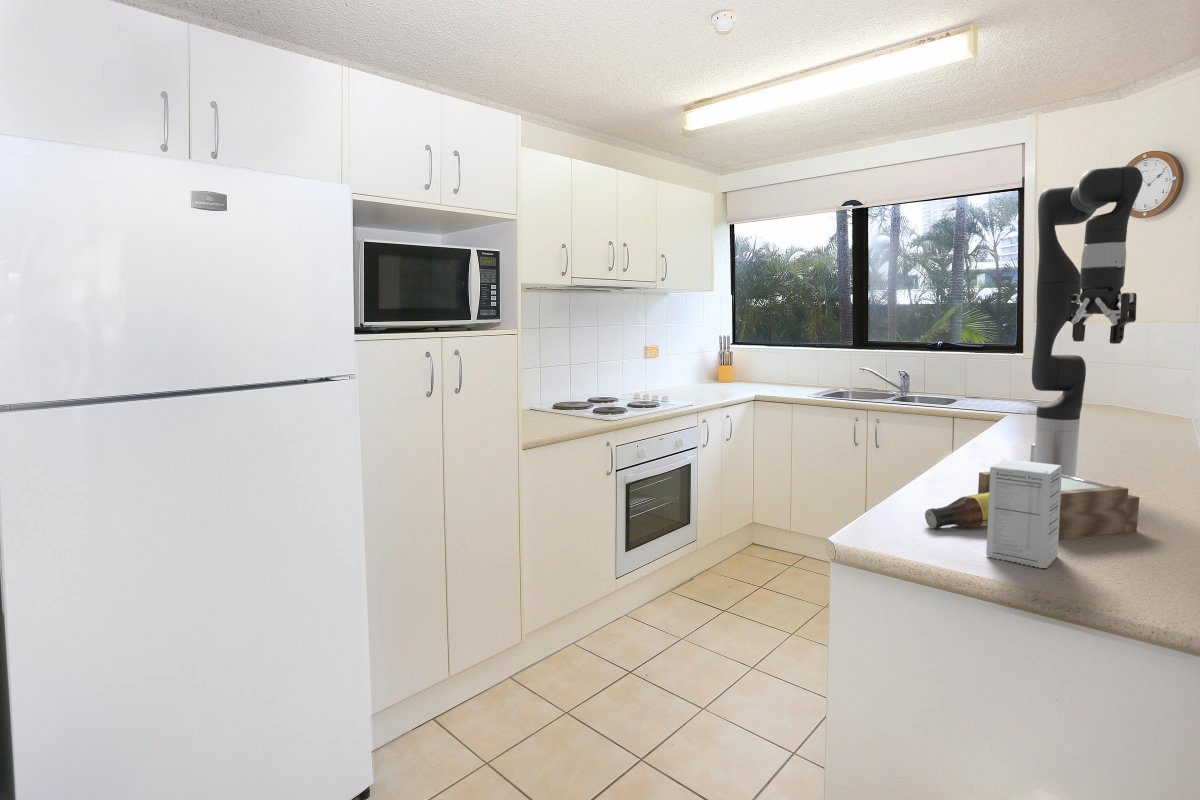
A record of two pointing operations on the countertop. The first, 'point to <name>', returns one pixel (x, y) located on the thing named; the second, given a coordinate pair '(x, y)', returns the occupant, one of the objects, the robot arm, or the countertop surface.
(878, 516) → the countertop surface
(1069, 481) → the trapdoor
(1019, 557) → the supplement box
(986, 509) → the sauce bottle
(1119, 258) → the robot arm
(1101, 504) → the frame
